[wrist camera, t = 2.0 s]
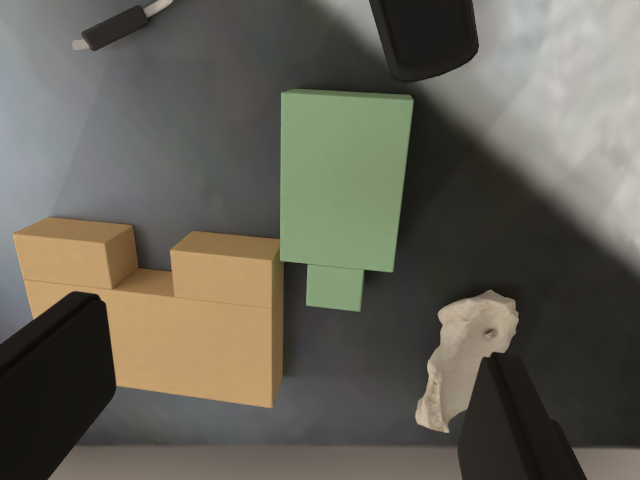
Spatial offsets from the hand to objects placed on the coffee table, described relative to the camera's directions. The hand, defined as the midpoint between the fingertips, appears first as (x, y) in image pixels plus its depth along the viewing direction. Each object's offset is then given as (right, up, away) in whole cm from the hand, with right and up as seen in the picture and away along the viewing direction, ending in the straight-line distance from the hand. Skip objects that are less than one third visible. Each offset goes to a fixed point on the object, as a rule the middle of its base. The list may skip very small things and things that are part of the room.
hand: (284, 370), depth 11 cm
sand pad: (-11, -1, +23) cm, 25 cm away
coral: (+11, -4, +21) cm, 24 cm away
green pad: (+3, +6, +18) cm, 19 cm away
